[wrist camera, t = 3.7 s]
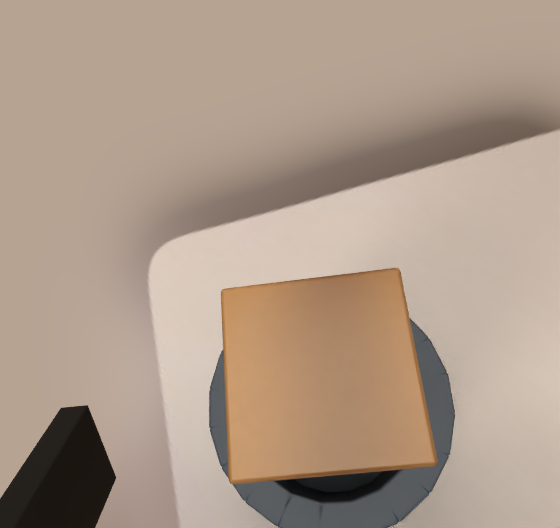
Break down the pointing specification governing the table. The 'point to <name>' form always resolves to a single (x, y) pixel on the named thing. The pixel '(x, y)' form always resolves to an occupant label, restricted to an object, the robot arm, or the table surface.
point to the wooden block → (322, 379)
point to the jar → (350, 487)
